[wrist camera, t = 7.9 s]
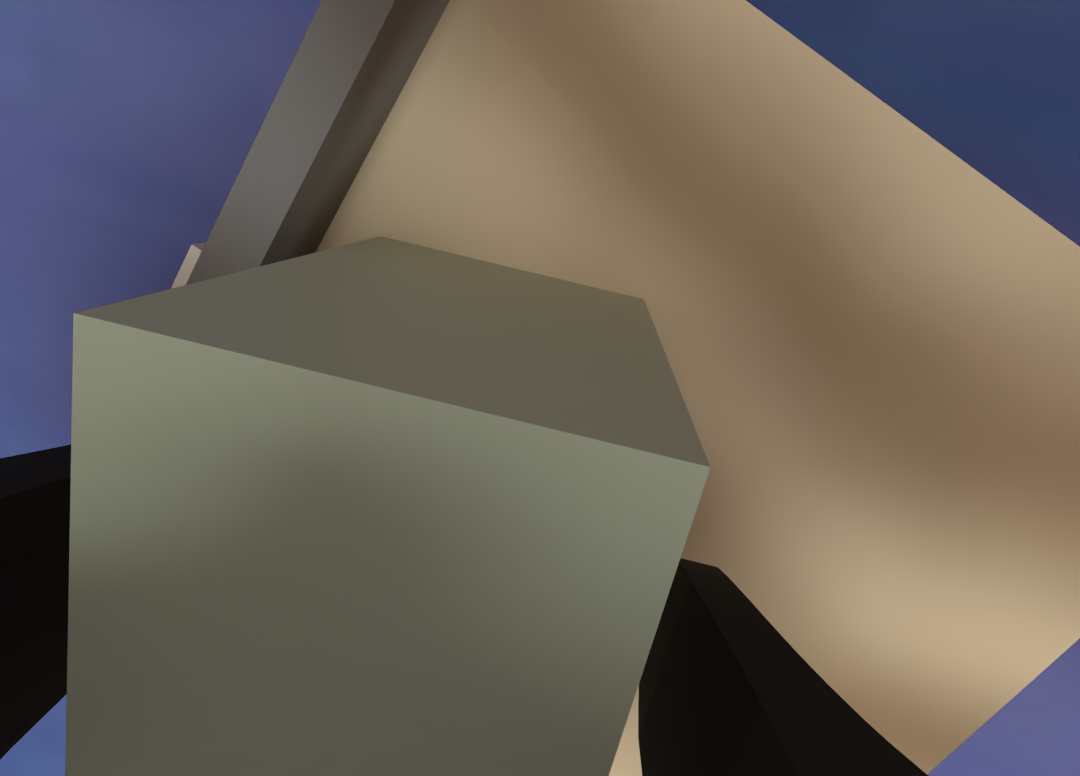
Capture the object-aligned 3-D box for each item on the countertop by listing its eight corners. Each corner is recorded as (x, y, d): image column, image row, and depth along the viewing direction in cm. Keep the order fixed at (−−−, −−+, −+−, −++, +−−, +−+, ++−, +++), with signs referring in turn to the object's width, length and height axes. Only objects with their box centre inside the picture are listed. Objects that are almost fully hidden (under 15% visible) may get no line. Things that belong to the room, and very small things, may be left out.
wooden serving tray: (484, -155, 11) (434, -303, 8) (1236, 396, 12) (1470, 474, 9) (100, 593, 16) (-34, 703, 12) (676, 924, 17) (696, 1101, 14)
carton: (644, 298, 11) (710, 467, 5) (538, 684, 14) (481, 1160, 7) (366, 232, 11) (39, 303, 5) (309, 628, 14) (38, 1048, 7)
